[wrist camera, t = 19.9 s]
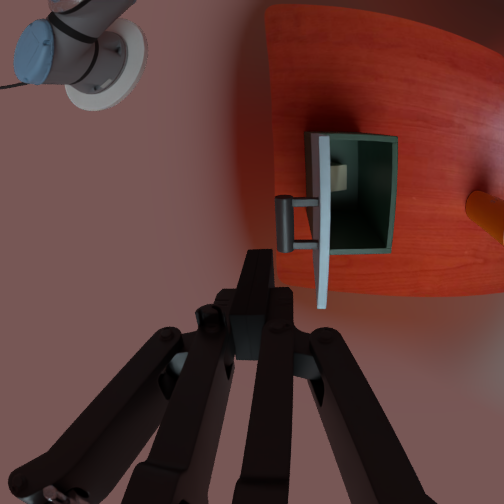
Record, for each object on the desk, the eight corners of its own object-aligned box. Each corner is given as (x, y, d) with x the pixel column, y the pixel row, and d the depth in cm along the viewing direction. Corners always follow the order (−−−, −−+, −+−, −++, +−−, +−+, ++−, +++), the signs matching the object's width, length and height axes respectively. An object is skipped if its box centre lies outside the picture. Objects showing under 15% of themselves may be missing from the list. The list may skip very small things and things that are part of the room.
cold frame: (360, 132, 46) (398, 136, 29) (360, 212, 53) (390, 253, 36) (303, 131, 48) (314, 133, 31) (306, 213, 54) (315, 255, 37)
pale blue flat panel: (329, 135, 20) (268, 136, 21) (326, 309, 26) (277, 308, 27) (318, 133, 30) (277, 134, 31) (319, 256, 37) (283, 256, 37)
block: (330, 185, 50) (311, 187, 49) (330, 161, 49) (311, 163, 47) (346, 189, 47) (327, 192, 45) (346, 164, 45) (327, 166, 43)
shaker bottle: (483, 227, 49) (534, 266, 31) (457, 219, 50) (510, 259, 32) (493, 192, 46) (549, 221, 28) (467, 181, 46) (527, 209, 28)
